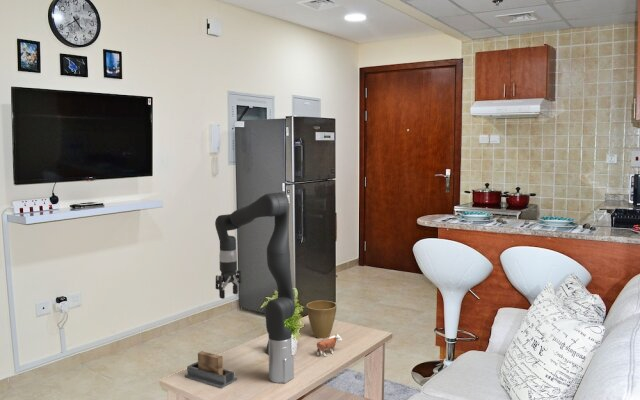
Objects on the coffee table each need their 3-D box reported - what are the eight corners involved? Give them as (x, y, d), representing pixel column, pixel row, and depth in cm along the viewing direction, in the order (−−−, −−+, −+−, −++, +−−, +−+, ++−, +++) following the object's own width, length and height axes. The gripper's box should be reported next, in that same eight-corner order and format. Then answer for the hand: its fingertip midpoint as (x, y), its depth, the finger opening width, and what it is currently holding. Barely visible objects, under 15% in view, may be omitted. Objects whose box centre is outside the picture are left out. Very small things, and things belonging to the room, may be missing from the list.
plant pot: (304, 332, 280) (304, 301, 279) (333, 330, 283) (333, 299, 281) (309, 342, 266) (309, 309, 264) (339, 340, 268) (339, 308, 267)
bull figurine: (343, 352, 253) (343, 334, 252) (319, 358, 246) (319, 340, 245) (337, 349, 257) (337, 332, 256) (313, 355, 249) (313, 338, 248)
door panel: (222, 377, 223) (222, 356, 222) (218, 380, 221) (218, 358, 220) (202, 372, 229) (202, 351, 228) (198, 374, 227) (197, 353, 226)
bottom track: (236, 380, 224) (236, 370, 223) (221, 388, 216) (221, 378, 216) (200, 369, 234) (200, 360, 234) (184, 377, 227) (184, 367, 226)
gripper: (223, 263, 235) (224, 301, 236) (245, 257, 247) (245, 293, 248) (210, 261, 239) (211, 298, 240) (232, 256, 251) (233, 291, 252)
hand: (228, 296), depth 244 cm, fingers open, 8 cm apart
